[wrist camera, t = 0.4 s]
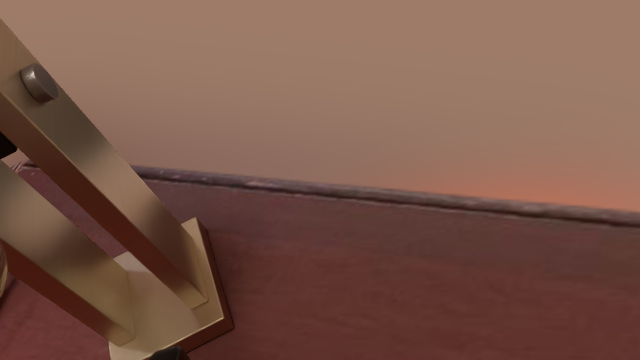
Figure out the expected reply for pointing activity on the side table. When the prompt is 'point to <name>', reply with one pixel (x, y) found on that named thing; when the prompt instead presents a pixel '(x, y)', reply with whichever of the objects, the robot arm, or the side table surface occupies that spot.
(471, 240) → the side table surface
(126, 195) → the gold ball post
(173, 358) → the robot arm
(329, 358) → the side table surface
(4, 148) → the switch lever
